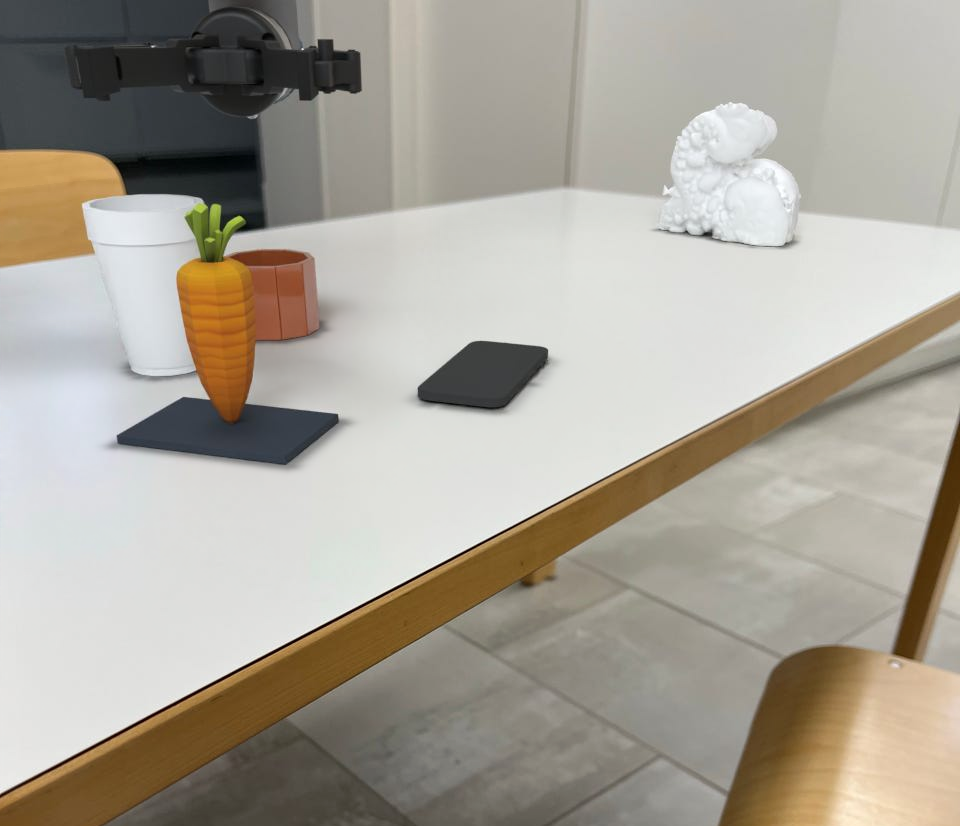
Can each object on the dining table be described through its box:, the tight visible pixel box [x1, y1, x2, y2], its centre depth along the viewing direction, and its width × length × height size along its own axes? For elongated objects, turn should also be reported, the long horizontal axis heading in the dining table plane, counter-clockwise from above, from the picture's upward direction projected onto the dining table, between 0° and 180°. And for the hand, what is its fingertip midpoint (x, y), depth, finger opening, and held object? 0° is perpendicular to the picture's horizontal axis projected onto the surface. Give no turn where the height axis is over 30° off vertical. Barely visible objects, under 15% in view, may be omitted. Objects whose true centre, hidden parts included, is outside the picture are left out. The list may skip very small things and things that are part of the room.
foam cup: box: [81, 193, 205, 377], centre depth 85 cm, size 10×9×13 cm
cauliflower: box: [657, 101, 802, 247], centre depth 139 cm, size 19×20×20 cm
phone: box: [417, 340, 549, 408], centre depth 85 cm, size 7×1×15 cm
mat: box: [116, 396, 340, 465], centre depth 74 cm, size 13×9×1 cm
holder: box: [223, 248, 320, 341], centre depth 97 cm, size 8×9×6 cm
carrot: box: [176, 203, 257, 425], centre depth 70 cm, size 5×5×15 cm
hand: (195, 75), depth 65 cm, fingers open, 13 cm apart
